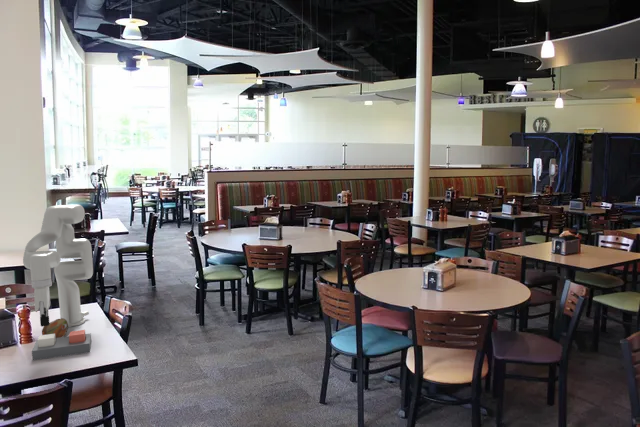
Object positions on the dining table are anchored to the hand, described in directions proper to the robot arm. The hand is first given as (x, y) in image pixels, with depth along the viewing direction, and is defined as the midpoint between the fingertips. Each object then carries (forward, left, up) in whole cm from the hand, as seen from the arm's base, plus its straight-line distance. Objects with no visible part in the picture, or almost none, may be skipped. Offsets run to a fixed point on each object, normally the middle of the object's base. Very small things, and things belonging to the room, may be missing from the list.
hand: (45, 325), depth 232 cm
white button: (0, 0, -9) cm, 9 cm away
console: (-5, +4, -12) cm, 14 cm away
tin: (-15, -13, -13) cm, 23 cm away
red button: (-9, +8, -9) cm, 15 cm away
